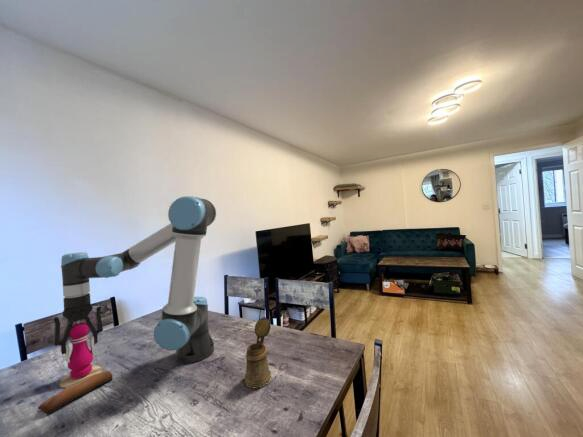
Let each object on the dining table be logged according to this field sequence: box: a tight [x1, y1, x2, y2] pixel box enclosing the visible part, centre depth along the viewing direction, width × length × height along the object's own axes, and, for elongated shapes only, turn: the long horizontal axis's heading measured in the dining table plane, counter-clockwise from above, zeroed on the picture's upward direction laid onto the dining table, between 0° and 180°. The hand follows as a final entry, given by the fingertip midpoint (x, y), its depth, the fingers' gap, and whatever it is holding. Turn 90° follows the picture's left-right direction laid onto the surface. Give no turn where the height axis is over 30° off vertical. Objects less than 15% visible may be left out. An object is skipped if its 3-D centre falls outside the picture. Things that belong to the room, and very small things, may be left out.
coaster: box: [59, 365, 103, 389], centre depth 93 cm, size 12×12×1 cm
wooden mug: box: [244, 316, 272, 388], centre depth 88 cm, size 9×14×18 cm, turn 164°
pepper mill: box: [67, 320, 94, 378], centre depth 93 cm, size 7×7×20 cm
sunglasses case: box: [37, 370, 114, 416], centre depth 84 cm, size 18×7×7 cm
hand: (80, 357), depth 93 cm, fingers closed on pepper mill, 6 cm apart
